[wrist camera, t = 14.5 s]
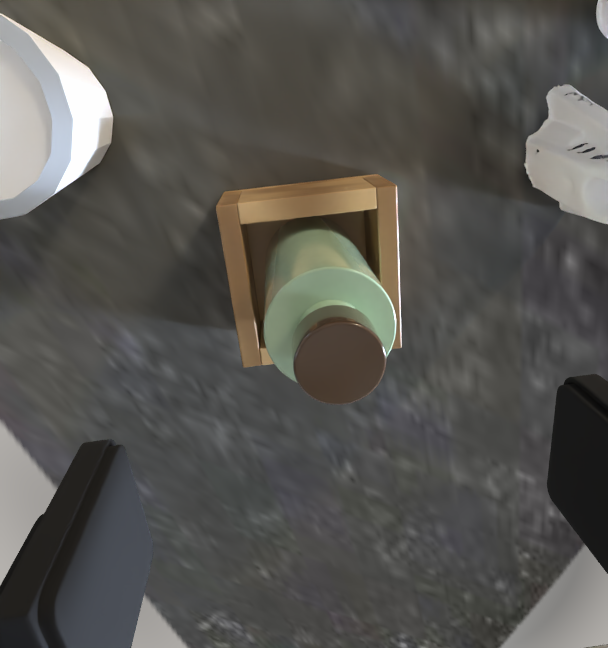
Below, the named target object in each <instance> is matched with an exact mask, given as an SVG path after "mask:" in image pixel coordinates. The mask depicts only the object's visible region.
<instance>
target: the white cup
mask: <svg viewBox="0 0 608 648" xmlns="http://www.w3.org/2000/svg"><path fill="white" fill-rule="evenodd" d="M112 127H113V115H112V111H111V108H110V105H109V101H108V98H107V95H106V91H105V90H104V88H103V87H102V86H101V84H100V83H99V81H98V80H97V79H96V77H95V76H94V74H93V73H92V72H91V70H90V69H89V68H88V67H87V66H86V65H84V64H83V63H81V62H80V61H78V60H77V59H76V58H74V57H73V56H71V55H70V54H68V53H67V52H66V51H64V50H62V49H61V48H59V47H57V46H55V45H54V44H52V43H50V42H49V41H47V40H45V39H44V38H42V37H40V36H38V35H37V34H35V33H33V32H32V31H30V30H28V29H27V28H25V27H23V26H22V25H20V24H18V23H16V22H15V21H13V20H11V19H10V18H8V17H6V16H5V15H3V14H1V13H0V219H5V218H10V217H16V216H21V215H25V214H27V213H28V212H30V211H31V210H33V209H34V208H36V207H37V206H38V205H40V204H41V203H43V202H44V201H46V200H47V199H49V198H50V197H52V196H53V195H55V194H56V193H57V192H59V191H60V190H62V189H63V188H65V187H66V186H68V185H69V184H71V183H72V182H73V181H75V180H76V179H78V178H79V177H81V176H82V175H84V174H85V173H86V172H88V171H89V170H91V169H92V168H93V167H95V166H96V165H98V164H99V163H100V162H101V160H102V158H103V157H104V155H105V153H106V151H107V149H108V147H109V145H110V144H111V139H112Z"/></svg>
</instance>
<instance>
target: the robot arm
mask: <svg viewBox="0 0 608 648" xmlns="http://www.w3.org/2000/svg"><path fill="white" fill-rule="evenodd" d="M547 488H548V492H549V495H550V498H551V499H552V501H553V503H554V504H555V505H556V506H557V508H558V509H559V510H560V512H561V513H562V514H563V516H564V517H565V518H566V520H567V521H568V522H569V524H570V525H571V526H572V528H573V529H574V530H575V532H576V533H577V534H578V535H579V537H580V538H581V539H582V541H583V542H584V543H585V545H586V546H587V547H588V548H589V550H590V551H591V553H592V554H593V555H594V557H595V558H596V559H597V560H598V562H599V563H600V564H601V566H602V567H603V568H604V570H605V571H606V572H607V573H608V382H607V381H606V380H605V379H603V378H602V377H601V376H599V375H597V374H591V375H584V376H577V377H569V378H567V379H566V380H565V382H564V385H561V386H559V388H558V390H557V397H556V406H555V415H554V425H553V434H552V443H551V452H550V461H549V471H548V480H547ZM152 558H153V542H152V537H151V534H150V531H149V527H148V524H147V521H146V517H145V514H144V510H143V507H142V504H141V500H140V497H139V494H138V490H137V487H136V483H135V480H134V477H133V473H132V470H131V467H130V463H129V460H128V456H127V453H126V450H125V447H124V446H123V445H116V443H115V442H114V440H112V439H108V440H101V441H93V442H86V443H83V444H82V445H81V447H80V448H79V450H78V452H77V454H76V456H75V458H74V460H73V461H72V463H71V465H70V467H69V469H68V471H67V473H66V474H65V476H64V478H63V480H62V482H61V484H60V486H59V487H58V489H57V491H56V493H55V495H54V497H53V499H52V500H51V502H50V504H49V506H48V508H47V510H46V512H45V513H44V514H42V515H41V516H40V517H39V518H38V519H37V521H36V522H35V524H34V526H33V527H32V529H31V531H30V533H29V535H28V536H27V539H26V540H25V542H24V544H23V546H22V547H21V549H20V551H19V553H18V555H17V556H16V558H15V560H14V562H13V564H12V566H11V568H10V569H9V571H8V573H7V575H6V577H5V578H4V580H3V582H2V584H1V586H0V648H131V646H132V642H133V637H134V633H135V629H136V625H137V621H138V616H139V612H140V608H141V604H142V600H143V596H144V592H145V587H146V583H147V579H148V575H149V571H150V567H151V562H152ZM586 648H608V644H607V645H600V646H593V647H586Z"/></svg>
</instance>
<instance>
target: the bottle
mask: <svg viewBox="0 0 608 648" xmlns="http://www.w3.org/2000/svg"><path fill="white" fill-rule="evenodd" d="M396 324H397V323H396V314H395V310H394V307H393V304H392V302H391V300H390V298H389V296H388V295H387V293H386V291H385V290H384V288H383V287H382V285H381V284H380V282H379V281H378V279H377V278H376V276H375V275H374V273H373V272H372V270H371V269H370V267H369V265H368V264H367V262H366V261H365V259H364V258H363V256H362V255H361V253H360V252H359V250H358V249H357V247H356V246H355V244H354V243H353V241H352V240H351V238H350V237H349V235H348V234H347V232H346V231H345V230H344V229H343V228H342V227H341V226H340V225H338V224H337V223H335V222H334V221H332V220H330V219H327V218H324V217H320V216H311V217H302V218H296V219H293V220H291V221H289V222H287V223H286V224H284V225H283V226H282V227H281V228H279V229H278V230H277V232H276V233H275V234H274V235H273V237H272V238H271V240H270V242H269V244H268V247H267V250H266V255H265V287H264V341H265V345H266V349H267V351H268V354H269V356H270V358H271V359H272V361H273V363H274V364H275V365H276V367H277V368H278V369H279V370H280V371H281V372H282V373H283V374H285V375H286V376H287V377H288V378H290V379H292V380H293V381H295V382H297V383H298V384H299V386H300V387H301V389H302V390H303V391H304V392H305V393H306V394H308V395H309V396H310V397H312V398H313V399H315V400H317V401H319V402H322V403H326V404H331V405H343V404H349V403H352V402H356V401H358V400H360V399H362V398H364V397H365V396H367V395H368V394H370V393H371V392H372V391H373V390H374V389H375V388H376V387H377V385H378V384H379V382H380V381H381V379H382V377H383V375H384V372H385V368H386V358H387V356H388V355H389V353H390V350H391V348H392V346H393V343H394V340H395V335H396Z"/></svg>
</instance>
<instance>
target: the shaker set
mask: <svg viewBox="0 0 608 648" xmlns="http://www.w3.org/2000/svg"><path fill="white" fill-rule="evenodd" d="M596 7H597V9H596V18H597V25H598V27H599V29H600V31H601V32H602V34H603V35H604V36H605V37H606V38H608V0H598V3H597V6H596ZM567 93H568V95H566V96H564V95H565V94H567ZM546 99H547V103H548V108H549V110H548V114H549V117H548V119H547V120H546V121H544V123H543V125H542V126H541V128H540V130H538V131H537V132H535V133H534V134H533V135H530V136H528V139H527V142H526V161H525V162H526V163H524V166H525V167H526V169H527V170H526V173H527V174H529V175H528V176H529V179H530V180H531V183H532V184H534V185H533V187H535V188H537V189H539V190H541V191H543V192H544V193H545V194H547V195H549V196H550V197H552V198H554V199H555V200H557V201H559V202H560V203H559V204H560V206H559V207H560V209H561V210H562V211H565V212H569V213H573V214H576V215H579V216H583V217H587V218H589V219H591V220H594V221H598V222H601V223H605V224H608V111H607V110H606V109H604V108H603V107H601V106H599V105H598V104H596V103H594V102H593V101H591V100H590V99H589V98H587V97H586V96H584V95H582V94H581V93H580V92H578V91H577V90H576V89H575V88H574V87H572V86H571V85H568V84H565V85H564V86H559V85H558V86H557V87H555V86H554V88H553V89H551V90H550V91H549V92H548V95H547V96H546ZM585 143H588V144H585ZM580 144H585V145H584V146H583V147H580V148H577V149H574V150H571V149H572V148H574V147H576V146H578V145H580ZM592 147H596V148H595V150H593V151H590V152H587V153H579V154H578V153H577V152H583V151H585V150H586V149H590V148H592ZM537 149H538V150H539V153H538V152H537ZM568 149H570V151H567V150H568ZM602 154H604V157H603V159H602V158H601V159H602V160H601V159H590V158H592V157H594V156H597V155H602Z"/></svg>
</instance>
